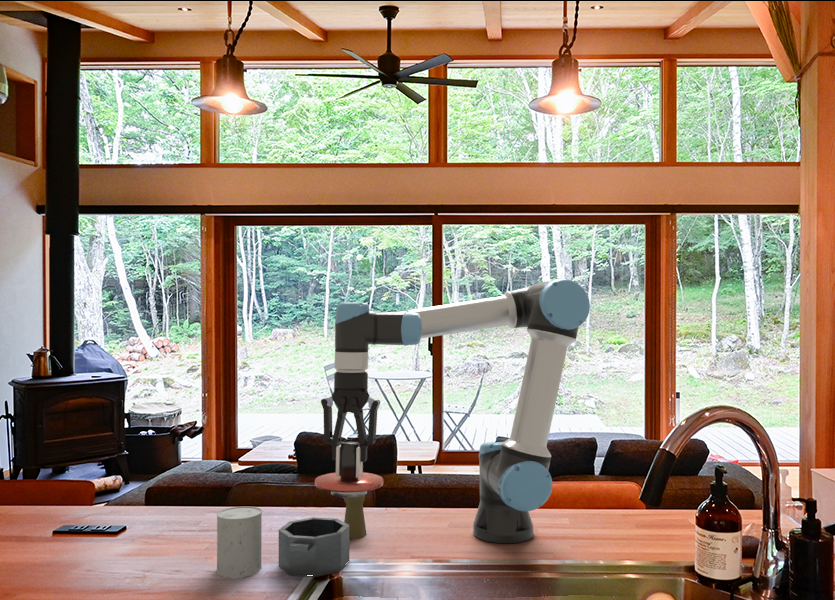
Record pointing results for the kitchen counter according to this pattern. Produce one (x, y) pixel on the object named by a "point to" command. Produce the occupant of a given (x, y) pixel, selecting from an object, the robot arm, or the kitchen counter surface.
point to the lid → (348, 476)
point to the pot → (313, 546)
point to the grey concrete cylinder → (239, 541)
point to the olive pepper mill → (355, 517)
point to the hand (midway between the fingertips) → (349, 475)
